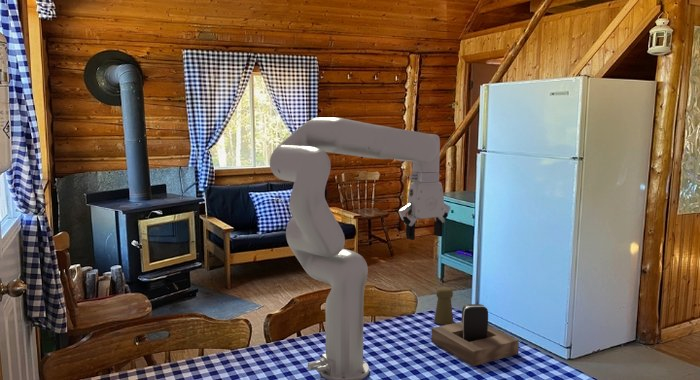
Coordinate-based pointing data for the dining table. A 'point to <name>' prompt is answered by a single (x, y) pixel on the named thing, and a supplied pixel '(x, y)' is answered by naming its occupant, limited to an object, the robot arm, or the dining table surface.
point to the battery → (474, 322)
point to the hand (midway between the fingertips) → (424, 237)
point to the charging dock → (475, 344)
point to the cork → (444, 306)
